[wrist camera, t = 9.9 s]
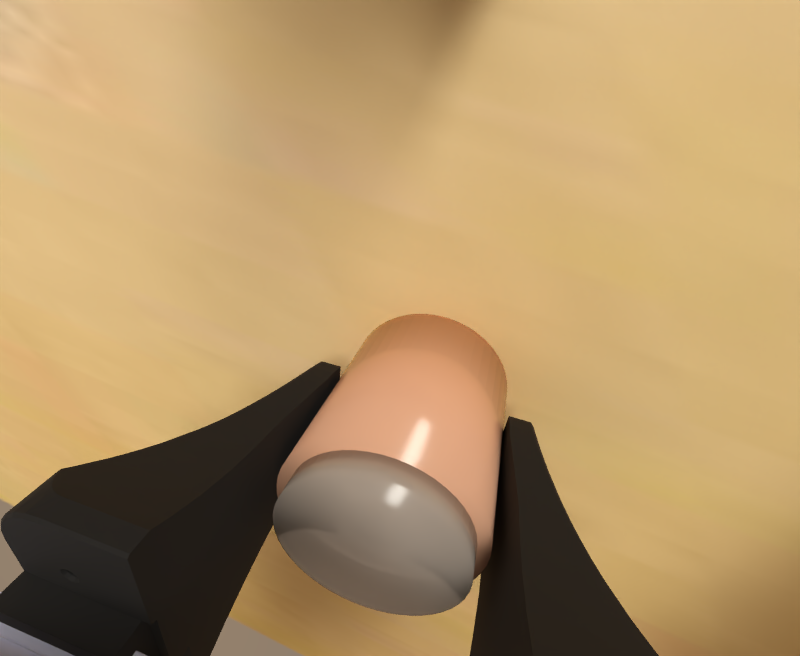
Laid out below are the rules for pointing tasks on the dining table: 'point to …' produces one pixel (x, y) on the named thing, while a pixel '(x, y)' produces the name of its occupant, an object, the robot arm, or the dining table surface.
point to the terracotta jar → (400, 470)
